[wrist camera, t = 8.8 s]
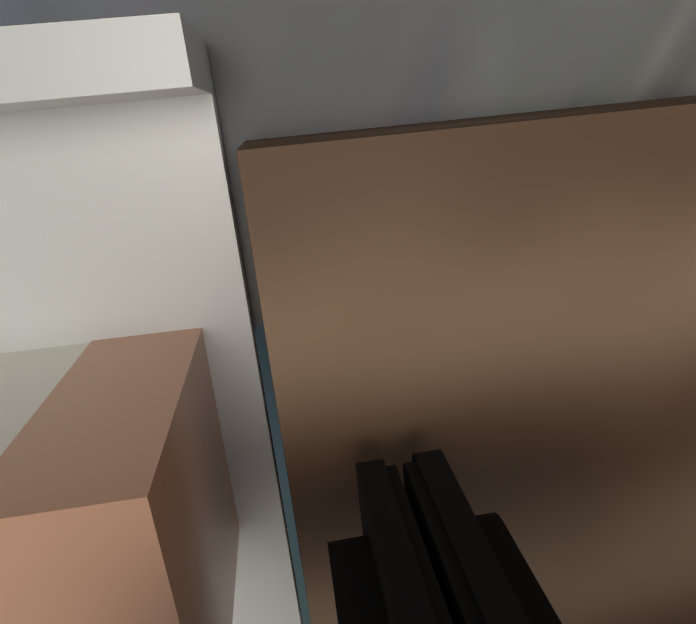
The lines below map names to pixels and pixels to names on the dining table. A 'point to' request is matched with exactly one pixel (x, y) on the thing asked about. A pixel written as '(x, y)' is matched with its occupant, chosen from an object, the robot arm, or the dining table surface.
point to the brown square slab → (494, 336)
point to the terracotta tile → (121, 493)
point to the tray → (137, 237)
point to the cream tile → (30, 384)
